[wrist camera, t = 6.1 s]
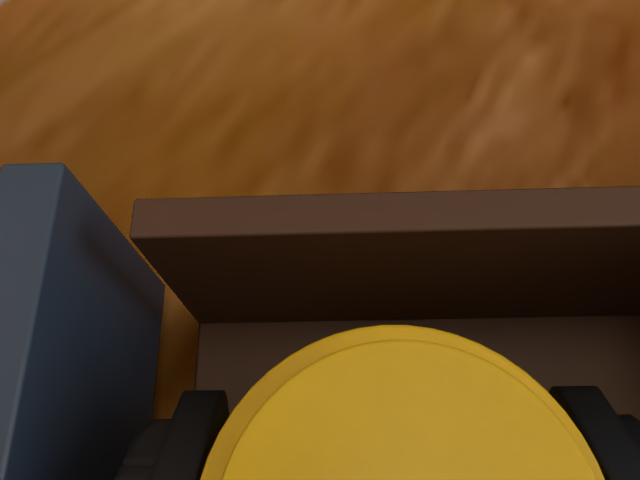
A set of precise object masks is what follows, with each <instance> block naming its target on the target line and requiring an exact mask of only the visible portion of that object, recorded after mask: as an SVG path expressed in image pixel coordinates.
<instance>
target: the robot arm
mask: <svg viewBox="0 0 640 480" xmlns="http://www.w3.org/2000/svg"><path fill="white" fill-rule="evenodd" d="M549 394H550V395H551V396H552V397H553V398H554V399H555V400H556V401H557V403H558V404H559V405H560V406H561V407H562V408H563V409H564V410H565V411H566V413H567V414H568V416H569V417H570V418H571V420H572V421H573V423H574V424H575V425H576V427H577V428H578V430H579V431H580V432H581V434H582V435H583V437H584V439H585V440H586V442H587V444H588V446H589V448H590V449H591V451H592V453H593V455H594V457H595V458H596V460H597V462H598V464H599V467H600V469H601V472H602V474H603V476H604V479H605V480H640V421H639V420H638V419H637V418H635V417H634V416H633V415H631V414H623V415H617V413H616V412H615V410H614V409H613V407H612V406H611V404H610V403H609V401H608V400H607V399H606V397H605V396H604V394H603V393H602V391H601V390H600V389H599V388H598V387H597V386H553V387H551V389H550V391H549ZM228 418H229V408H228V399H227V394H226V392H225V390H194V391H184V392H183V393H182V395H181V398H180V400H179V403H178V405H177V408H176V410H175V413H174V415H173V418H172V419H154V420H153V421H152V422H151V423H150V424H149V425H147V426H146V427H145V428H144V429H143V430H142V431H141V432H140V433H139V434H138V435H137V436H136V437H135V438H134V439H133V441H132V443H131V445H130V447H129V450H128V452H127V454H126V456H125V458H124V460H123V466H121V467H120V469H119V471H118V473H117V475H116V477H115V479H114V480H200V478H201V475H202V472H203V469H204V466H205V463H206V460H207V457H208V455H209V453H210V451H211V449H212V447H213V444H214V442H215V440H216V438H217V436H218V434H219V432H220V430H221V429H222V427H223V425H224V424H225V422H226V421H227V419H228Z"/></svg>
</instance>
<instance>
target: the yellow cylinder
mask: <svg viewBox="0 0 640 480" xmlns="http://www.w3.org/2000/svg"><path fill="white" fill-rule="evenodd" d="M200 480H605V479H604V476H603V474H602V472H601V469H600V467H599V464H598V462H597V460H596V458H595V457H594V455H593V453H592V451H591V449H590V448H589V446H588V444H587V442H586V440H585V439H584V437H583V435H582V434H581V432H580V431H579V430H578V428H577V427H576V425H575V424H574V423H573V421H572V420H571V418H570V417H569V416H568V414H567V413H566V411H565V410H564V409H563V408H562V407H561V406H560V405H559V404H558V403H557V401H556V400H555V399H554V398H553V397H552V396H551V395H550V394H549V393H548V391H547V390H546V389H544V388H543V387H542V386H541V385H540V384H539V383H538V382H537V381H535V380H534V379H533V378H532V377H531V376H530V375H529V374H527V373H526V372H525V371H524V370H522V369H521V368H519V367H518V366H517V365H515V364H514V363H512V362H511V361H509V360H508V359H507V358H505V357H504V356H502V355H500V354H498V353H496V352H494V351H493V350H491V349H489V348H487V347H485V346H483V345H481V344H479V343H477V342H474V341H472V340H469V339H467V338H464V337H461V336H459V335H456V334H453V333H449V332H445V331H441V330H437V329H433V328H427V327H419V326H411V325H377V326H369V327H361V328H356V329H352V330H348V331H344V332H340V333H336V334H333V335H331V336H328V337H326V338H323V339H321V340H318V341H316V342H313V343H311V344H309V345H307V346H306V347H304V348H302V349H300V350H298V351H297V352H295V353H293V354H291V355H290V356H288V357H287V358H286V359H284V360H283V361H281V362H280V363H279V364H277V365H276V366H275V367H273V368H272V369H271V370H269V371H268V372H267V373H266V374H265V375H264V376H263V377H262V378H261V379H260V380H259V381H258V382H257V383H256V384H255V385H254V386H253V387H252V388H251V389H250V390H249V391H248V392H247V393H246V395H245V396H244V397H243V398H242V400H241V401H240V402H239V403H238V405H237V406H236V407H235V408H234V410H233V411H232V413H231V414H230V416H229V418H228V419H227V421H226V422H225V424H224V425H223V427H222V429H221V430H220V432H219V434H218V436H217V438H216V440H215V442H214V444H213V447H212V449H211V451H210V453H209V455H208V457H207V460H206V463H205V466H204V469H203V472H202V475H201V478H200Z"/></svg>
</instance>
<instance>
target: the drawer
mask: <svg viewBox="0 0 640 480" xmlns="http://www.w3.org/2000/svg"><path fill="white" fill-rule="evenodd" d="M130 239H131V240H132V241H133V242H134V244H135V245H136V246H137V247H138V249H139V250H140V251H141V252H142V254H143V255H144V256H145V257H146V258H147V260H148V261H149V262H150V263H151V265H152V266H153V267H154V268H155V270H156V271H157V272H158V273H159V274H160V276H161V277H162V278H163V279H164V281H165V282H166V283H167V284H168V286H169V287H170V288H171V289H172V290H173V292H174V293H175V294H176V295H177V297H178V298H179V299H180V300H181V302H182V303H183V304H184V305H185V307H186V308H187V309H188V310H189V311H190V313H191V314H192V315H193V316H194V318H195V319H196V320H197V321H198V323H199V334H198V347H197V361H196V374H195V387H194V390H225V392H226V394H227V399H228V408H229V416H230V414H231V413H232V411H233V410H234V408H235V407H236V406H237V405H238V403H239V402H240V401H241V400H242V398H243V397H244V396H245V395H246V393H247V392H248V391H249V390H250V389H251V388H252V387H253V386H254V385H255V384H256V383H257V382H258V381H259V380H260V379H261V378H262V377H263V376H264V375H265V374H266V373H267V372H268V371H269V370H271V369H272V368H273V367H275V366H276V365H277V364H279V363H280V362H281V361H283V360H284V359H286V358H287V357H288V356H290V355H291V354H293V353H295V352H297V351H298V350H300V349H302V348H304V347H306V346H307V345H309V344H311V343H313V342H316V341H318V340H321V339H323V338H326V337H328V336H331V335H333V334H336V333H340V332H344V331H348V330H352V329H356V328H361V327H369V326H377V325H411V326H419V327H427V328H433V329H437V330H441V331H445V332H449V333H453V334H456V335H459V336H461V337H464V338H467V339H469V340H472V341H474V342H477V343H479V344H481V345H483V346H485V347H487V348H489V349H491V350H493V351H494V352H496V353H498V354H500V355H502V356H504V357H505V358H507V359H508V360H509V361H511V362H512V363H514V364H515V365H517V366H518V367H519V368H521V369H522V370H524V371H525V372H526V373H527V374H529V375H530V376H531V377H532V378H533V379H534V380H535V381H537V382H538V383H539V384H540V385H541V386H542V387H543V388H544V389H546V390H547V391H548V393H549V391H550V389H551V387H553V386H597V387H598V388H599V389H600V390H601V391H602V393H603V394H604V396H605V397H606V399H607V400H608V401H609V403H610V404H611V406H612V407H613V409H614V410H615V412H616V413H617V415H623V414H631V415H633V416H634V417H635V418H637V419H638V420H639V421H640V186H621V187H583V188H545V189H506V190H468V191H430V192H392V193H354V194H315V195H277V196H239V197H201V198H163V199H136V200H135V201H134V207H133V215H132V222H131V230H130ZM164 291H165V285H164V284H163V283H162V281H161V280H160V279H159V278H158V276H157V275H156V274H155V273H154V272H153V270H152V269H151V268H150V267H149V266H148V264H147V263H146V262H145V261H144V260H143V258H142V257H141V256H140V255H139V254H138V252H137V251H136V250H135V249H134V248H133V246H132V245H131V244H130V243H129V241H128V240H127V239H126V238H125V237H124V235H123V234H122V233H121V232H120V231H119V229H118V228H117V227H116V226H115V225H114V223H113V222H112V221H111V220H110V219H109V217H108V216H107V215H106V214H105V212H104V211H103V210H102V209H101V208H100V206H99V205H98V204H97V203H96V202H95V200H94V199H93V198H92V197H91V196H90V194H89V193H88V192H87V191H86V190H85V188H84V187H83V186H82V185H81V183H80V182H79V181H78V180H77V179H76V177H75V176H74V175H73V174H72V173H71V171H70V170H69V169H68V168H67V167H66V165H65V164H62V163H40V164H5V165H3V166H2V167H1V171H0V480H114V479H115V477H116V475H117V473H118V471H119V469H120V467H121V466H123V460H124V458H125V456H126V454H127V452H128V450H129V447H130V445H131V443H132V441H133V439H134V438H135V437H136V436H137V435H138V434H139V433H140V432H141V431H142V430H143V429H144V428H145V427H146V426H147V425H149V424H150V423H151V419H152V409H153V399H154V389H155V380H156V370H157V360H158V350H159V340H160V331H161V321H162V311H163V301H164Z"/></svg>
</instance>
